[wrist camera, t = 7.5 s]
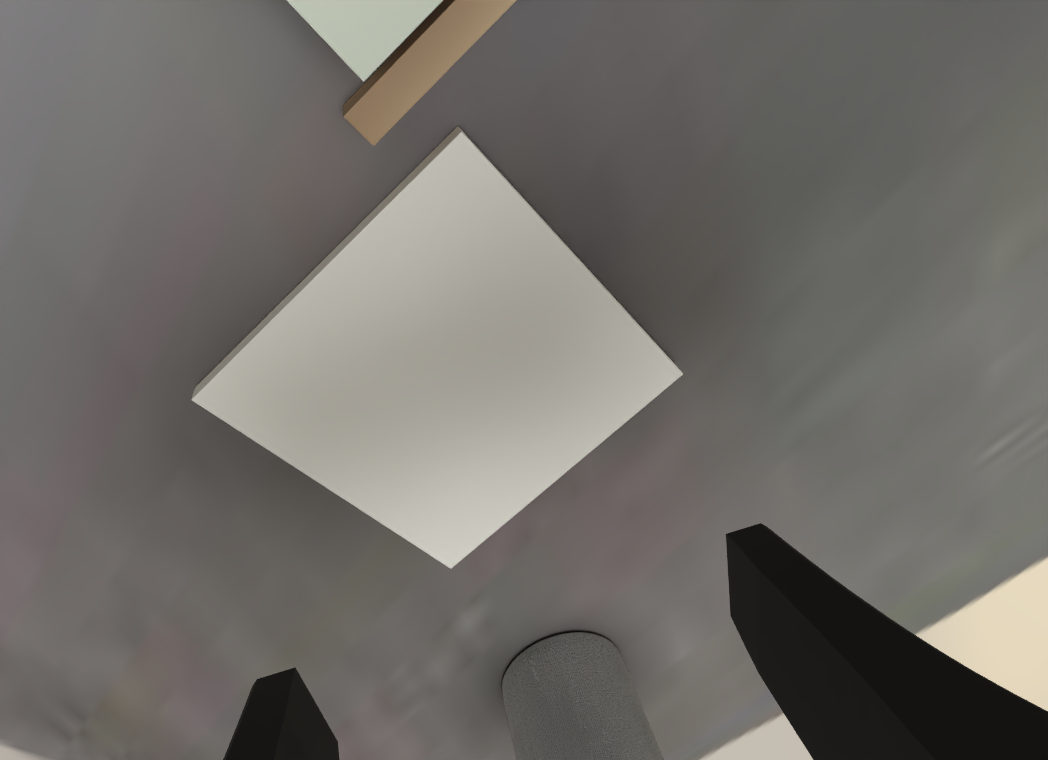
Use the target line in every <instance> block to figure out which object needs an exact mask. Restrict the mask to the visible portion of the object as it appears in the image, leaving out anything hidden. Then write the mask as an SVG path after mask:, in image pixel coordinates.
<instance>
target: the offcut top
mask: <svg viewBox="0 0 1048 760" xmlns="http://www.w3.org/2000/svg"><path fill="white" fill-rule="evenodd" d="M287 1H288V2H289V3H290V4H291V5H292V7H293V8H294V9H295V10H296V11H297V12H298V13H299V14H300V15H301V16H302V17H303V18H304V19H305V20H306V21H307V22H308V23H309V25H310V26H311V27H312V28H313V29H314V30H315V31H316V32H317V33H318V34H319V35H320V36H321V37H322V38H323V39H324V40H325V41H326V42H327V44H328V45H329V46H330V47H331V48H332V49H333V50H334V51H335V52H336V53H337V54H338V55H339V56H340V57H341V58H342V59H343V60H344V62H345V63H346V64H347V65H348V66H349V67H350V68H351V69H352V70H353V71H354V72H355V73H356V74H357V75H358V76H359V77H360V78H361V80H362V81H363V82H364V81H365V80H366V79H367V78H368V77H369V76H370V75H371V74H372V73H373V72H374V71H375V70H376V69H377V68H378V67H379V66H380V65H381V64H382V63H383V61H384V60H385V59H386V58H387V57H388V56H389V55H390V54H391V53H392V52H393V51H394V50H395V49H396V48H397V47H398V46H399V45H400V44H401V43H402V42H403V41H404V40H405V39H406V38H407V37H408V36H409V35H410V34H411V33H412V32H413V31H414V30H415V29H416V28H417V27H418V25H419V24H420V23H421V22H422V21H423V20H424V19H425V18H426V17H427V16H428V15H429V14H430V13H431V12H432V11H433V10H434V9H435V8H436V7H437V6H438V5H439V4H440V3H441V2H442V1H443V0H287Z"/></svg>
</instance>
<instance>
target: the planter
mask: <svg viewBox="0 0 1048 760" xmlns="http://www.w3.org/2000/svg"><path fill="white" fill-rule="evenodd" d="M502 694H503V700H504V706H505V711H506V715H507V720H508V724H509V728H510V733H511V737H512V742H513V746H514V751H515V755H516V759H517V760H664V759H663V756H662V754H661V751H660V749H659V747H658V744H657V742H656V739H655V737H654V734H653V732H652V729H651V727H650V724H649V722H648V720H647V717H646V715H645V712H644V710H643V707H642V705H641V702H640V700H639V697H638V695H637V693H636V690H635V688H634V685H633V683H632V680H631V678H630V675H629V673H628V670H627V668H626V666H625V663H624V661H623V659H622V657H621V655H620V653H619V651H618V649H617V648H616V646H615V645H614V644H613V643H612V642H610V641H609V640H607V639H605V638H603V637H601V636H599V635H595V634H591V633H583V632H574V633H565V634H560V635H556V636H553V637H550V638H547V639H544V640H542V641H540V642H538V643H536V644H534V645H532V646H531V647H529V648H528V649H526V650H525V651H523V652H522V653H521V654H520V655H519V656H518V657H517V658H516V659H515V660H514V661H513V662H512V663H511V665H510V666H509V668H508V669H507V671H506V673H505V675H504V678H503V682H502Z"/></svg>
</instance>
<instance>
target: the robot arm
mask: <svg viewBox="0 0 1048 760" xmlns="http://www.w3.org/2000/svg"><path fill="white" fill-rule="evenodd" d="M726 542H727V559H728V577H729V595H730V612H731V617H732V620H733V622H734V624H735V626H736V628H737V630H738V632H739V634H740V636H741V638H742V640H743V642H744V645H745V647H746V649H747V651H748V653H749V655H750V657H751V659H752V661H753V663H754V665H755V667H756V669H757V671H758V673H759V674H760V676H761V677H762V679H763V681H764V682H765V684H766V686H767V687H768V689H769V690H770V692H771V694H772V695H773V697H774V698H775V700H776V701H777V703H778V705H779V706H780V708H781V709H782V711H783V713H784V714H785V716H786V717H787V719H788V720H789V722H790V724H791V725H792V726H793V728H794V730H795V731H796V733H797V735H798V736H799V738H800V739H801V741H802V742H803V744H804V745H805V747H806V748H807V750H808V752H809V753H810V755H811V756H812V758H813V760H1048V711H1046V710H1044V709H1042V708H1040V707H1038V706H1036V705H1034V704H1032V703H1030V702H1028V701H1027V700H1025V699H1023V698H1021V697H1019V696H1017V695H1015V694H1013V693H1011V692H1010V691H1008V690H1006V689H1004V688H1003V687H1001V686H999V685H997V684H995V683H994V682H992V681H990V680H988V679H987V678H985V677H983V676H981V675H979V674H978V673H976V672H974V671H972V670H971V669H969V668H967V667H965V666H964V665H962V664H961V663H959V662H957V661H956V660H954V659H952V658H951V657H949V656H947V655H946V654H944V653H942V652H941V651H939V650H938V649H936V648H934V647H933V646H931V645H930V644H928V643H927V642H925V641H923V640H922V639H920V638H919V637H917V636H916V635H914V634H913V633H911V632H909V631H908V630H906V629H905V628H903V627H902V626H900V625H899V624H897V623H896V622H894V621H893V620H891V619H890V618H888V617H887V616H886V615H884V614H883V613H881V612H880V611H878V610H877V609H876V608H874V607H873V606H871V605H870V604H868V603H867V602H866V601H864V600H863V599H861V598H860V597H858V596H857V595H856V594H854V593H853V592H851V591H850V590H849V589H847V588H846V587H844V586H843V585H842V584H840V583H839V582H838V581H836V580H835V579H833V578H832V577H831V576H830V575H828V574H827V573H826V572H824V571H823V570H822V569H820V568H819V567H818V566H816V565H815V564H814V563H812V562H811V561H810V560H808V559H807V558H806V557H805V556H803V555H802V554H801V553H799V552H798V551H797V550H796V549H794V548H793V547H792V546H790V545H789V544H788V543H787V542H785V541H784V540H783V539H782V538H780V537H779V536H778V535H777V534H775V533H774V532H773V531H772V530H770V529H769V528H768V527H766V526H765V525H763V524H761V523H760V524H757V525H754V526H750V527H747V528H744V529H741V530H737V531H734V532H731V533H728V534H726ZM223 760H339V751H338V741H337V740H336V738H335V736H334V734H333V733H332V731H331V729H330V727H329V726H328V724H327V722H326V720H325V719H324V717H323V715H322V713H321V712H320V710H319V708H318V706H317V705H316V703H315V701H314V699H313V698H312V696H311V694H310V692H309V691H308V689H307V687H306V685H305V684H304V682H303V680H302V678H301V677H300V675H299V673H298V671H297V670H296V668H292V669H289V670H286V671H282V672H279V673H276V674H273V675H269V676H266V677H263V678H260V679H257V680H256V682H255V683H254V685H253V686H252V689H251V691H250V694H249V696H248V699H247V702H246V704H245V707H244V709H243V712H242V714H241V717H240V719H239V722H238V725H237V727H236V730H235V732H234V735H233V737H232V740H231V742H230V744H229V747H228V749H227V752H226V754H225V757H224V759H223Z"/></svg>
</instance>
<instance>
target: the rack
mask: <svg viewBox="0 0 1048 760" xmlns="http://www.w3.org/2000/svg"><path fill="white" fill-rule="evenodd" d="M515 1H516V0H444V1H443V2H442V3H441V4H440V5H439V6H438V7H437V8H436V9H435V10H434V11H433V12H432V13H431V14H430V15H429V16H428V17H427V18H426V19H425V20H424V21H423V23H422V24H421V25H420V26H419V27H418V28H417V29H416V30H415V31H414V32H413V33H412V34H411V35H410V36H409V37H408V38H407V39H406V40H405V41H404V42H403V43H402V44H401V46H400V47H399V48H398V49H397V50H396V51H395V52H394V53H393V54H392V55H391V56H390V57H389V58H388V59H387V60H386V61H385V62H384V63H383V64H382V65H381V66H380V67H379V69H378V70H377V71H376V72H375V73H374V74H373V75H372V76H371V77H370V78H369V79H368V80H367V81H366V82H365V83H364V84H363V85H362V86H361V87H360V88H359V89H358V90H357V92H356V93H355V94H354V95H353V96H352V97H351V98H350V99H349V100H348V101H347V102H346V103H345V104H344V105H343V117H344V118H345V119H346V120H347V121H348V122H349V123H350V124H351V125H353V126H354V127H355V128H356V129H357V130H358V131H359V132H360V133H361V134H362V135H363V136H364V137H365V138H366V139H367V140H368V141H369V142H370V143H371V144H372V145H373V146H374V145H375V144H376V143H377V142H378V141H379V140H380V139H381V138H382V137H383V136H384V135H385V134H386V133H387V132H388V131H389V130H390V129H391V128H392V127H393V126H394V125H395V124H396V123H397V122H398V121H399V120H400V119H401V117H402V116H403V115H404V114H405V113H406V112H407V111H408V110H409V109H410V108H411V107H412V106H413V105H414V104H415V103H416V102H417V101H418V100H419V99H420V98H421V97H422V96H423V95H424V94H425V93H426V92H427V91H428V90H429V89H430V88H431V87H432V86H433V85H434V84H435V83H436V82H437V81H438V80H439V79H440V78H441V77H442V76H443V75H444V74H445V73H446V72H447V71H448V70H449V69H450V68H451V67H452V66H453V65H454V64H455V62H456V61H457V60H458V59H459V58H460V57H461V56H462V55H463V54H464V53H465V52H466V51H467V50H468V49H469V48H470V47H471V46H472V45H473V44H474V43H475V42H476V41H477V40H478V39H479V38H480V37H481V36H482V35H483V34H484V33H485V32H486V31H487V30H488V29H489V28H490V27H491V26H492V25H493V24H494V23H495V22H496V21H497V20H498V19H499V18H500V17H501V16H502V15H503V14H504V13H505V12H506V11H507V10H508V8H509V7H510V6H511V5H512V4H513V3H514V2H515Z"/></svg>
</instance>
